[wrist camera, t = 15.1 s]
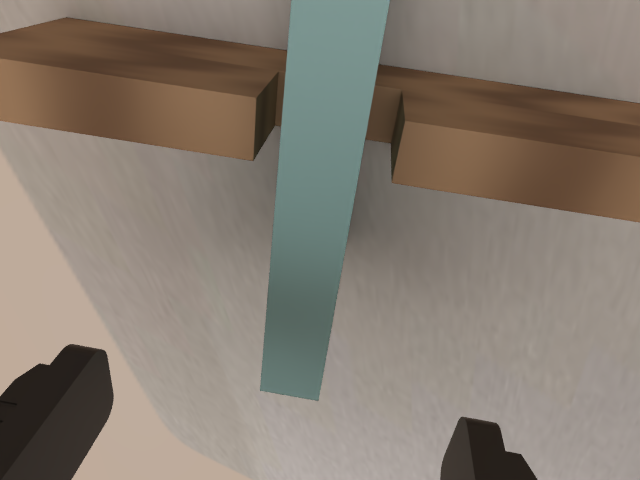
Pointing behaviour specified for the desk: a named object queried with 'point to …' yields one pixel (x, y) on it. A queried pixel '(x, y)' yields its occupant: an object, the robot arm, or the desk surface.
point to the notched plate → (317, 181)
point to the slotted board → (383, 125)
